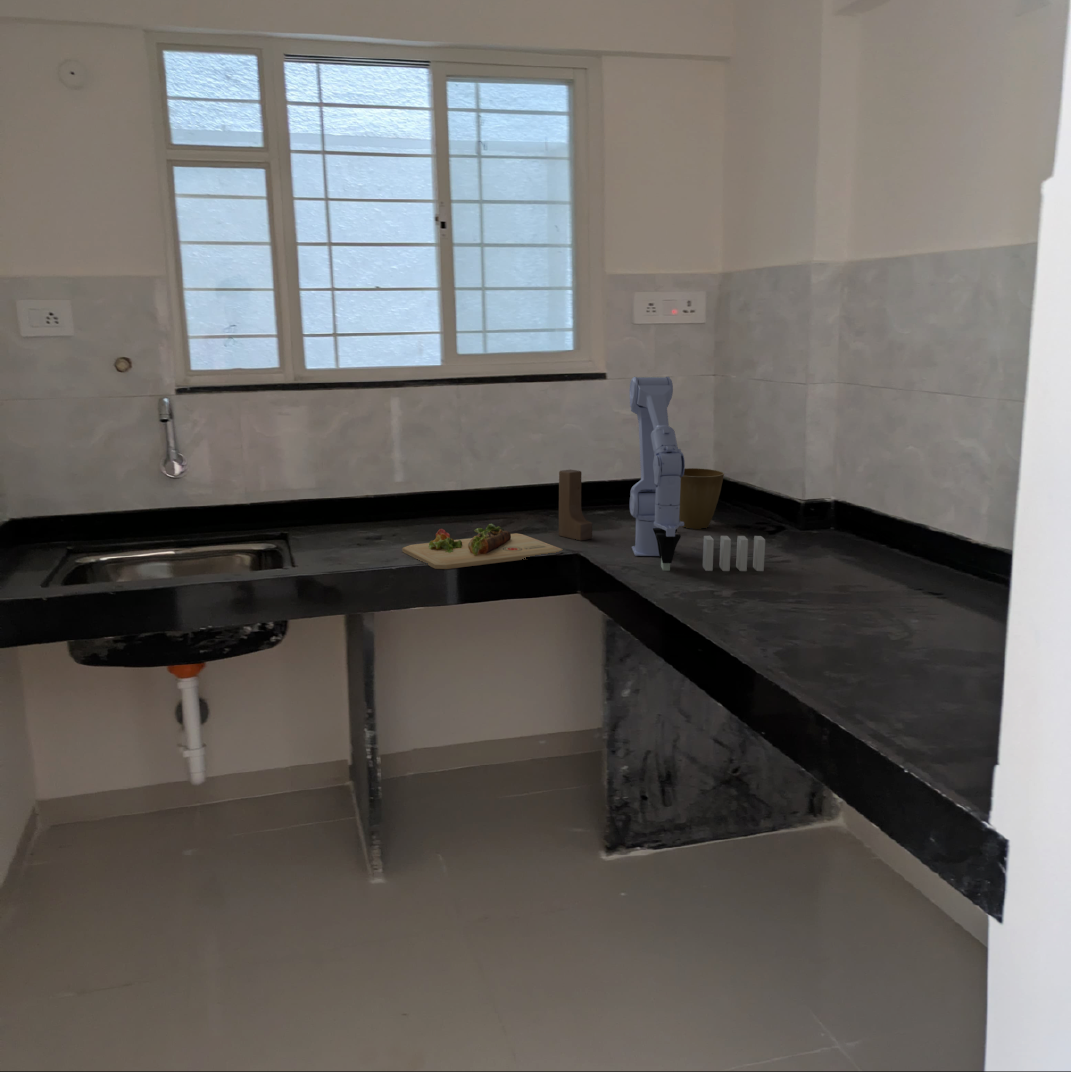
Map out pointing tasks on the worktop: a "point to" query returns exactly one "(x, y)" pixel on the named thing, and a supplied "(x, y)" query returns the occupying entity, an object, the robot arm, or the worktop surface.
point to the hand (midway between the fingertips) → (665, 560)
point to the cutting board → (478, 548)
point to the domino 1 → (665, 566)
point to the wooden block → (572, 507)
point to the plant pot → (699, 496)
